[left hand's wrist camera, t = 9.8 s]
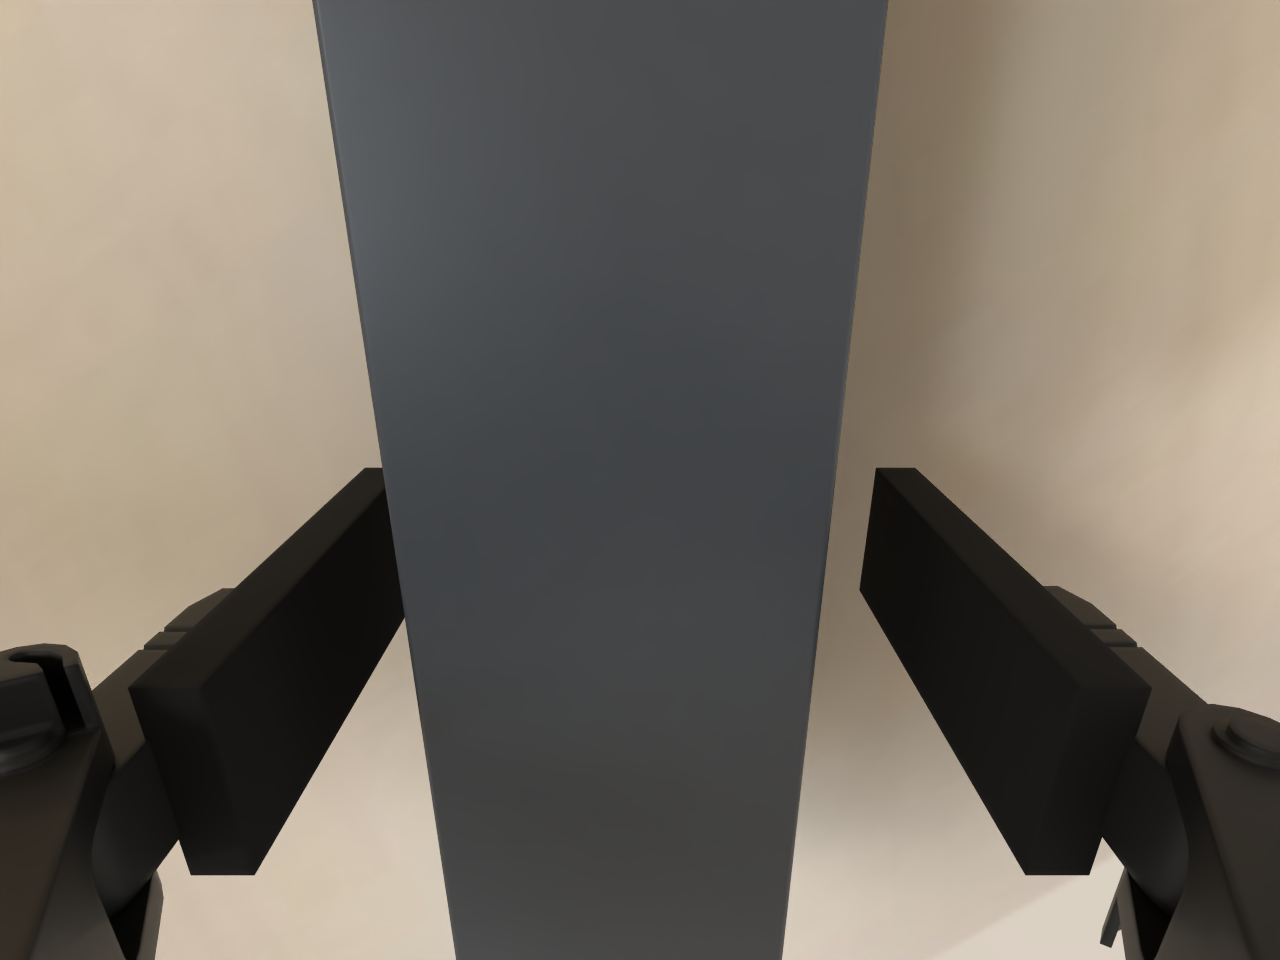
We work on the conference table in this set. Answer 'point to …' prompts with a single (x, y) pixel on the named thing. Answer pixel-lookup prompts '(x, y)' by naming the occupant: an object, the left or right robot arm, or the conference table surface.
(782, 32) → the post
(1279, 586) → the conference table surface
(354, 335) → the conference table surface
